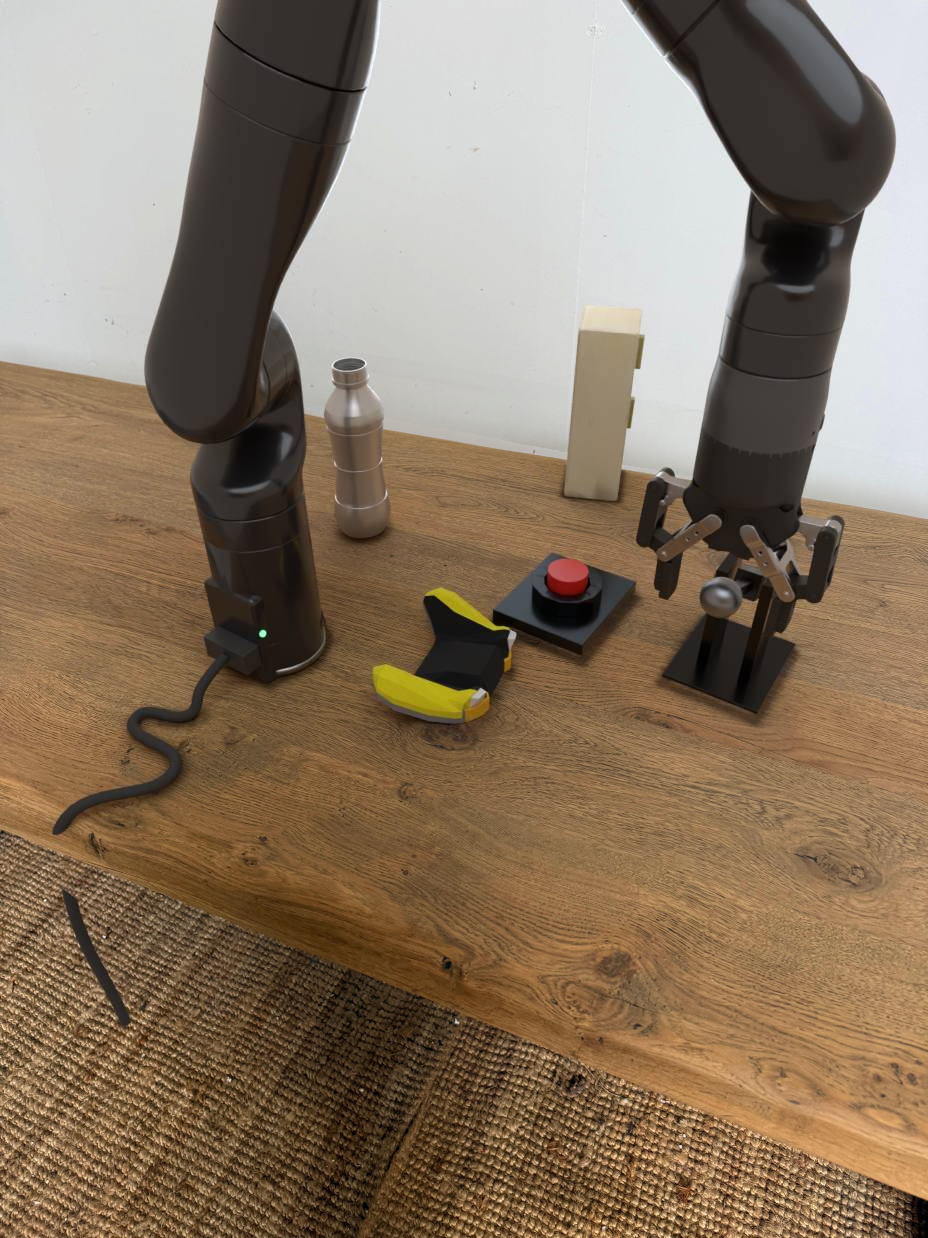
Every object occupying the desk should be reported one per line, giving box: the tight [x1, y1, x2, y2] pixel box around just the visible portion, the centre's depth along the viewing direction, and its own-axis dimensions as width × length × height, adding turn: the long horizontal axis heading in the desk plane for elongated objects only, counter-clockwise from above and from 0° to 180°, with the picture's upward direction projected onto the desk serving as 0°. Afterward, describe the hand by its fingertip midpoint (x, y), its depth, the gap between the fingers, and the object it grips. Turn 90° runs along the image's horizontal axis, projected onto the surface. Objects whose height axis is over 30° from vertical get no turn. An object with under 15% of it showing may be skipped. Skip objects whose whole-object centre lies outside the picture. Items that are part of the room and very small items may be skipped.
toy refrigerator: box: [563, 304, 646, 502], centre depth 102 cm, size 8×7×21 cm
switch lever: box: [699, 564, 767, 618], centre depth 71 cm, size 13×3×3 cm, turn 146°
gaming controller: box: [371, 587, 517, 725], centre depth 79 cm, size 15×6×10 cm
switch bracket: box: [661, 552, 797, 715], centre depth 78 cm, size 11×9×12 cm
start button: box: [547, 558, 589, 595], centre depth 86 cm, size 4×4×2 cm
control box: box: [492, 551, 637, 657], centre depth 87 cm, size 12×10×4 cm
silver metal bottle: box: [323, 357, 392, 539], centre depth 95 cm, size 6×7×20 cm
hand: (718, 612), depth 68 cm, fingers open, 8 cm apart
